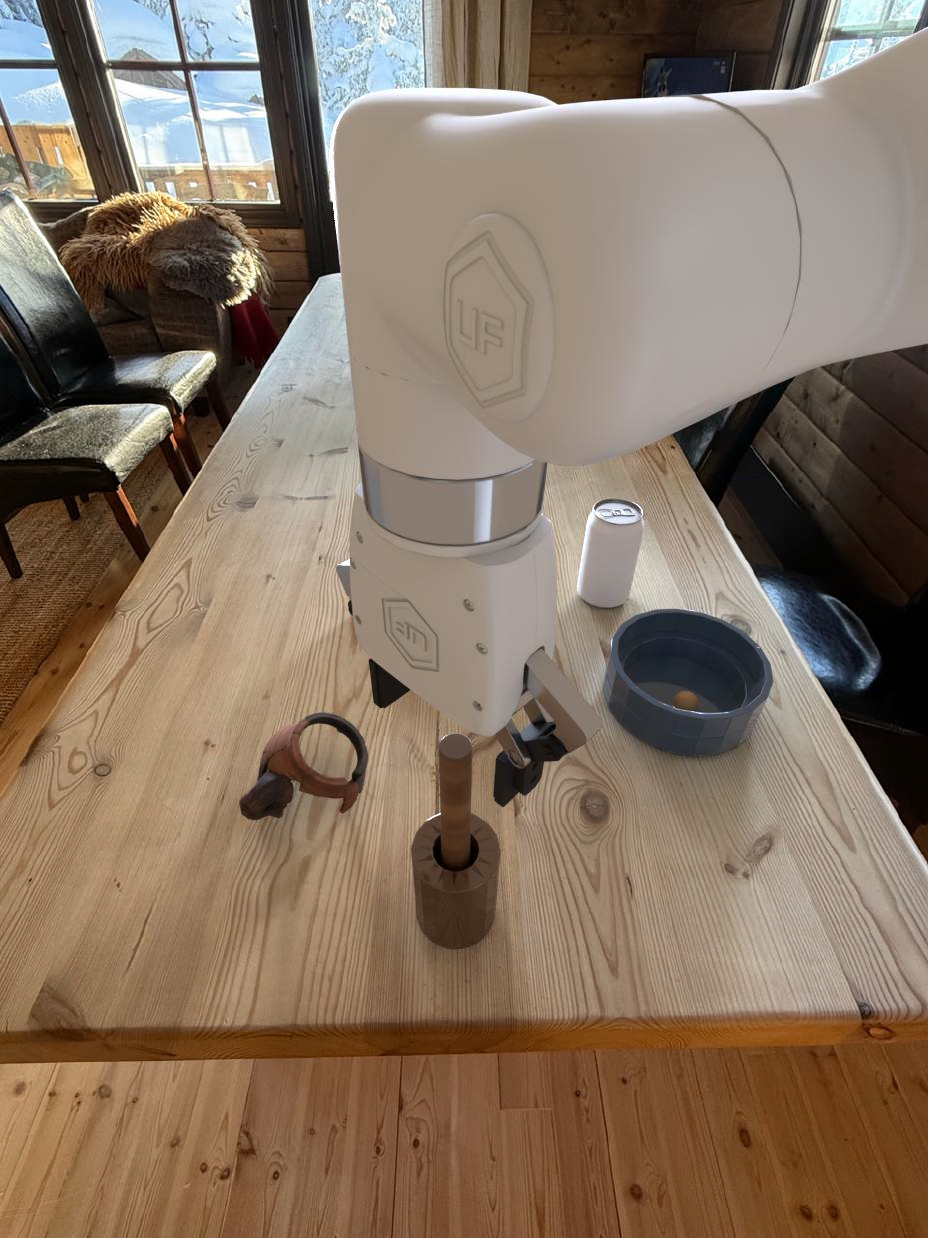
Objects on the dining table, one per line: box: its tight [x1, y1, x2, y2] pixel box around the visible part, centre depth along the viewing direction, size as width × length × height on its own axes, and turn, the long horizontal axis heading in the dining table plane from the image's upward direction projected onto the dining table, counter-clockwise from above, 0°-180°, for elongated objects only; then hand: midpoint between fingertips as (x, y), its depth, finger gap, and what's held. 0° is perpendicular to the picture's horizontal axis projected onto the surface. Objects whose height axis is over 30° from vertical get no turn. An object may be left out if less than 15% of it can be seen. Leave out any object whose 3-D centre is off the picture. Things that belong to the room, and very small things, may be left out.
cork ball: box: [673, 691, 699, 712], centre depth 66 cm, size 2×2×2 cm
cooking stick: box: [437, 732, 473, 872], centre depth 45 cm, size 2×2×20 cm
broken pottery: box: [238, 711, 369, 821], centre depth 58 cm, size 12×9×8 cm
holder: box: [410, 812, 502, 950], centre depth 49 cm, size 6×6×9 cm
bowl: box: [602, 607, 774, 757], centre depth 67 cm, size 15×15×6 cm
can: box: [576, 497, 645, 609], centre depth 78 cm, size 6×6×12 cm
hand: (452, 738), depth 38 cm, fingers open, 9 cm apart
